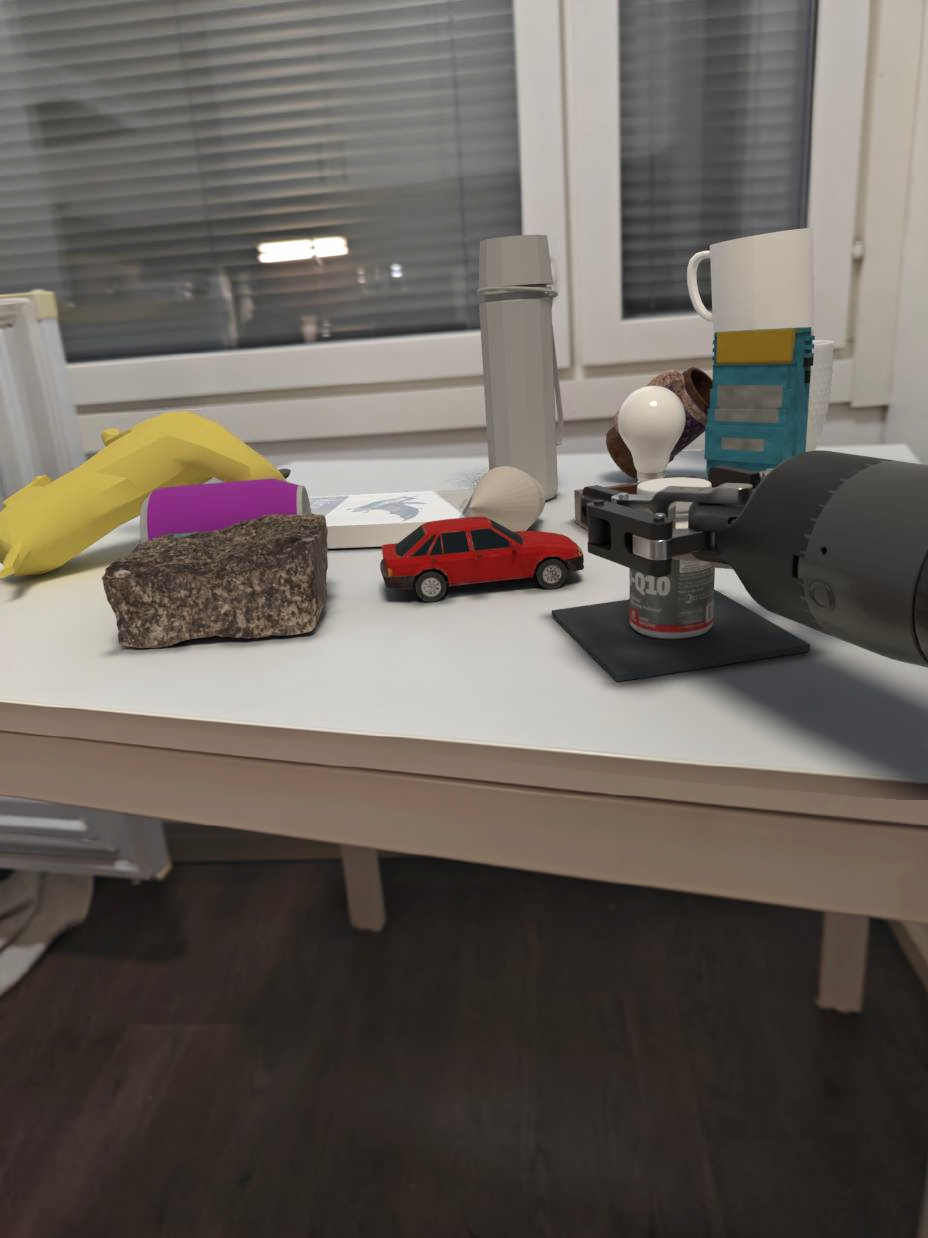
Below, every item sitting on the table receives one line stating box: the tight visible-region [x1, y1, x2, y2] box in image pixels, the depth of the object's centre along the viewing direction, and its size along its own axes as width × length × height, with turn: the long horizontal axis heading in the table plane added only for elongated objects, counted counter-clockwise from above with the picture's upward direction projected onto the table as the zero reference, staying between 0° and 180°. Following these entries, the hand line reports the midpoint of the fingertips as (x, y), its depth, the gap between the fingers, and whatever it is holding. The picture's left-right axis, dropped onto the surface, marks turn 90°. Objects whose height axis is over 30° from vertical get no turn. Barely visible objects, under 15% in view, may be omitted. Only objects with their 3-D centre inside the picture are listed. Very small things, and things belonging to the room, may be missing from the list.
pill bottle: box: [628, 476, 716, 639], centre depth 48 cm, size 5×5×8 cm
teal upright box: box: [704, 327, 816, 475], centre depth 81 cm, size 10×4×15 cm, turn 43°
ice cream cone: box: [469, 466, 546, 532], centre depth 72 cm, size 6×6×15 cm
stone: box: [101, 513, 329, 649], centre depth 57 cm, size 11×13×6 cm
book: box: [308, 488, 475, 549], centre depth 79 cm, size 23×14×2 cm, turn 83°
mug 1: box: [605, 366, 713, 481], centre depth 89 cm, size 10×7×12 cm
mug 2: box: [686, 227, 815, 338], centre depth 88 cm, size 13×10×10 cm
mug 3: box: [806, 339, 835, 452], centre depth 94 cm, size 15×11×13 cm
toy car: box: [379, 516, 585, 603], centre depth 60 cm, size 6×14×5 cm, turn 98°
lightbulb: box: [617, 385, 686, 483], centre depth 81 cm, size 6×6×11 cm
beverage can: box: [139, 478, 311, 544], centre depth 66 cm, size 8×8×12 cm
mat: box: [551, 588, 812, 683], centre depth 49 cm, size 11×11×1 cm
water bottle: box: [475, 234, 565, 502], centre depth 85 cm, size 9×8×25 cm
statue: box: [0, 410, 288, 579], centre depth 74 cm, size 27×13×20 cm
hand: (651, 493), depth 48 cm, fingers open, 8 cm apart
